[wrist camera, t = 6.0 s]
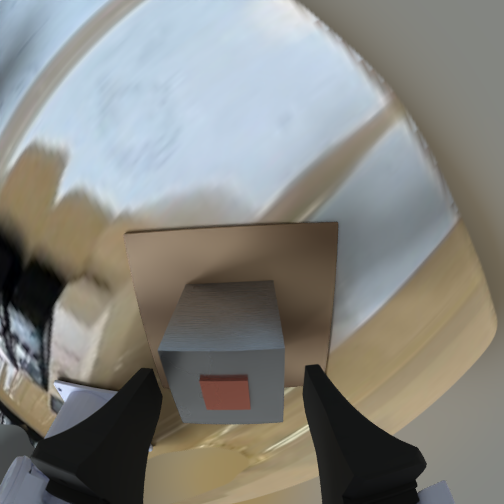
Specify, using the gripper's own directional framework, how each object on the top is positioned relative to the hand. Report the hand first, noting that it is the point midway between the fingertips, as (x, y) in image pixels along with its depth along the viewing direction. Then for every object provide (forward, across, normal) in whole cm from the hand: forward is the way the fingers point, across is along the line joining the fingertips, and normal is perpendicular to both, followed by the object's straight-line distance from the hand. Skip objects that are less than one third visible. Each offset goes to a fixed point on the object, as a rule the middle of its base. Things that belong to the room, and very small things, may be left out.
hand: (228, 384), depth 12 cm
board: (+6, 0, 0) cm, 6 cm away
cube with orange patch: (+5, 0, 0) cm, 5 cm away
